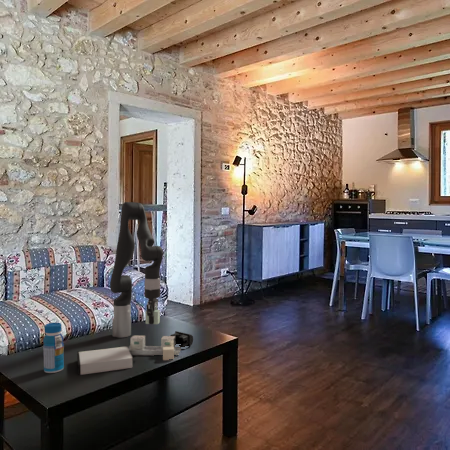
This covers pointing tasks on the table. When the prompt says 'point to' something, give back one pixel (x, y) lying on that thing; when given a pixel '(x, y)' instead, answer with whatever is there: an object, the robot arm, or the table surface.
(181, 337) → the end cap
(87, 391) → the table surface
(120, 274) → the robot arm
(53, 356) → the beverage bottle
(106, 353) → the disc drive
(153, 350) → the rail
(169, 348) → the block
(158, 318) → the module
